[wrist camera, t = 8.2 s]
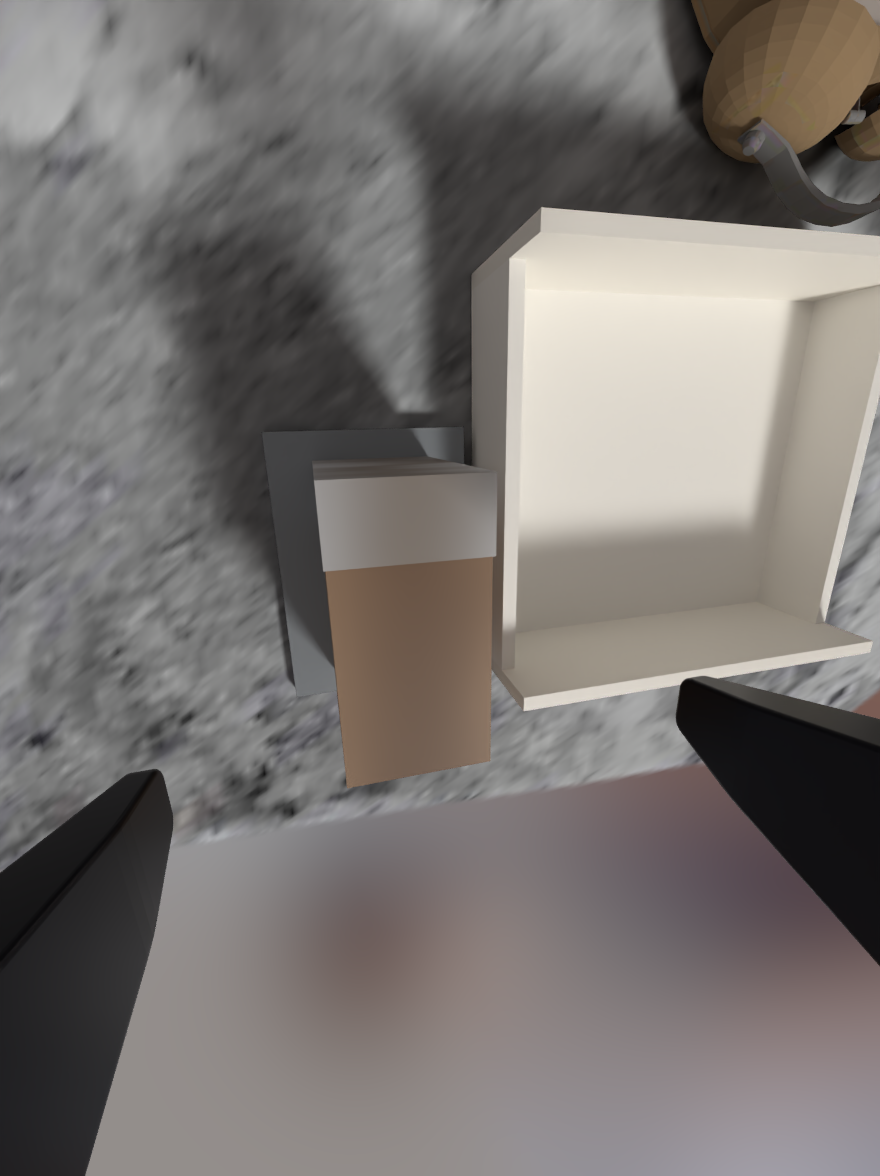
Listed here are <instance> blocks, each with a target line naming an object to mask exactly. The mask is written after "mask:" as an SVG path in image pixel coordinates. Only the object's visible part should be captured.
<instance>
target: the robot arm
mask: <svg viewBox="0 0 880 1176" xmlns="http://www.w3.org/2000/svg"><path fill="white" fill-rule="evenodd" d="M676 723H677V726H678V728H679V730H680V731H681V733H682V734H683V735H684V737H685V738H686V739H687V741H688V742H689V743H690V745H691V746H692V747H693V749H694V750H695V751H696V753H697V754H698V755H699V757H700V758H701V759H702V761H703V762H704V763H705V765H706V766H707V767H708V769H709V770H710V771H711V773H712V774H713V775H714V777H715V778H716V779H717V781H718V782H719V783H720V785H721V786H722V787H723V789H724V790H725V791H726V792H727V794H728V795H729V796H730V798H731V799H732V800H733V801H734V802H735V803H736V805H738V807H739V808H740V809H741V810H742V812H743V813H744V814H745V815H746V816H747V817H748V818H749V819H750V821H751V822H752V823H753V824H754V825H755V826H756V827H757V828H758V830H759V831H760V832H761V833H762V834H763V835H764V836H765V837H766V839H767V840H768V841H769V842H770V843H771V844H772V845H773V847H775V849H776V850H777V851H778V852H779V853H780V854H781V855H782V856H783V858H784V859H785V860H786V861H787V862H788V863H789V865H790V866H791V867H792V868H793V869H794V870H795V871H796V872H797V873H798V874H799V876H800V877H801V878H802V879H803V880H804V881H805V883H806V884H807V885H808V886H809V887H810V888H811V889H812V890H813V891H814V893H815V894H816V895H817V896H818V897H819V898H820V899H821V901H823V903H824V904H825V905H826V906H827V907H828V908H829V910H830V911H831V912H832V913H833V914H834V915H835V916H836V917H837V918H838V920H839V921H840V922H841V923H842V924H843V925H844V926H845V928H846V929H847V930H848V931H849V932H850V933H851V934H852V935H853V937H854V938H855V939H856V940H857V941H858V942H859V943H860V944H861V945H862V947H863V948H864V949H865V950H866V951H867V952H868V953H869V954H870V956H871V957H872V958H873V959H874V960H875V961H876V962H877V964H878V965H879V966H880V719H877V718H873V717H869V716H865V715H861V714H857V713H853V712H849V711H845V710H841V709H837V708H833V707H829V706H825V705H821V704H817V703H813V702H809V701H805V700H801V699H797V698H793V697H789V696H785V695H781V694H777V693H773V692H769V691H765V690H761V689H757V688H753V687H749V686H745V685H741V684H737V683H733V682H729V681H725V680H721V679H717V678H713V677H709V676H697V677H692V678H687V679H685V680H683V681H682V683H681V685H680V690H679V696H678V703H677V710H676ZM172 831H173V813H172V809H171V805H170V801H169V797H168V793H167V789H166V784H165V780H164V777H163V775H162V773H161V771H159V770H157V769H152V770H146V771H140V772H134V773H129V774H127V775H126V776H124V777H123V778H121V779H120V780H119V781H118V782H116V783H115V784H114V785H112V786H111V787H110V788H109V789H107V790H106V791H105V792H103V793H102V794H101V795H100V796H98V797H97V798H96V799H94V800H93V801H92V802H91V803H89V804H88V805H87V806H85V807H84V808H83V809H82V810H80V811H79V812H78V813H76V814H75V815H74V816H73V817H71V818H70V819H69V820H67V821H66V822H65V823H64V824H62V825H61V826H60V827H58V828H57V829H56V830H55V831H53V832H52V833H51V834H49V835H48V836H47V837H46V838H44V839H43V840H42V841H40V842H39V843H38V844H37V845H35V846H34V847H33V848H31V849H30V850H29V851H28V852H26V853H25V854H24V855H22V856H21V857H20V858H19V859H17V860H16V861H15V862H13V863H12V864H11V865H10V866H8V867H7V868H6V869H4V870H3V871H2V872H1V873H0V1176H85V1174H86V1171H87V1167H88V1164H89V1161H90V1157H91V1154H92V1150H93V1147H94V1143H95V1140H96V1136H97V1133H98V1129H99V1126H100V1122H101V1119H102V1116H103V1112H104V1109H105V1105H106V1101H107V1098H108V1095H109V1091H110V1088H111V1085H112V1081H113V1078H114V1074H115V1071H116V1067H117V1064H118V1060H119V1057H120V1053H121V1050H122V1046H123V1043H124V1039H125V1036H126V1033H127V1029H128V1026H129V1022H130V1019H131V1015H132V1012H133V1008H134V1004H135V1001H136V998H137V994H138V991H139V988H140V984H141V981H142V977H143V974H144V970H145V967H146V963H147V960H148V956H149V953H150V949H151V945H152V941H153V937H154V932H155V927H156V921H157V916H158V911H159V905H160V899H161V894H162V888H163V883H164V877H165V870H166V866H167V860H168V854H169V849H170V843H171V837H172Z"/></svg>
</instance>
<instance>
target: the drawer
mask: <svg viewBox="0 0 880 1176" xmlns="http://www.w3.org/2000/svg"><path fill="white" fill-rule="evenodd" d="M471 317H472V466H473V467H478V468H482V469H487V470H491V471H495V472H497V533H496V556H494V557H493V578H492V659H491V669H492V670H493V672H494V673H495V674H496V676H497V677H498V678H499V680H500V681H501V682H502V684H503V685H504V686H505V687H506V689H507V690H508V691H509V693H510V694H511V695H512V697H513V698H514V699H515V701H516V702H517V703H518V705H519V706H520V707H521V708H522V710H523V711H528V710H534V709H539V708H545V707H551V706H557V705H563V704H569V703H575V702H581V701H587V700H593V699H598V698H604V697H610V696H616V695H622V694H628V693H634V692H640V691H646V690H652V689H657V688H663V687H669V686H675V685H681V683H682V681H683V680H685V679H687V678H692V677H697V676H709V677H713V678H722V677H728V676H734V675H740V674H746V673H752V672H758V671H764V670H770V669H775V668H781V667H787V666H793V665H799V664H805V663H811V662H817V661H823V660H829V659H834V658H840V657H846V656H852V655H858V654H864V653H870V651H871V647H872V643H873V641H871V640H869V639H866V638H863V637H861V636H858V635H855V634H853V633H850V632H847V631H845V630H842V629H839V628H837V627H834V626H831V625H829V624H826V623H824V622H825V618H826V614H827V610H828V605H829V601H830V597H831V593H832V589H833V585H834V581H835V577H836V573H837V569H838V564H839V560H840V556H841V552H842V548H843V544H844V540H845V536H846V532H847V527H848V523H849V519H850V515H851V511H852V507H853V503H854V499H855V495H856V491H857V486H858V482H859V478H860V474H861V470H862V466H863V462H864V458H865V454H866V449H867V445H868V441H869V437H870V433H871V429H872V425H873V421H874V417H875V413H876V408H877V404H878V400H879V396H880V236H872V235H860V234H848V233H836V232H825V231H813V230H801V229H790V228H778V227H766V226H755V225H743V224H731V223H720V222H708V221H696V220H685V219H673V218H661V217H649V216H638V215H626V214H614V213H603V212H591V211H579V210H568V209H556V208H544V207H541V208H540V209H539V210H538V211H537V212H536V213H535V214H534V215H533V216H532V217H531V218H530V219H529V220H528V221H527V222H525V223H524V224H523V225H522V226H521V227H520V228H519V229H518V230H517V231H516V232H515V233H514V234H513V235H512V236H511V237H510V238H509V239H508V240H507V241H506V242H505V243H504V244H502V245H501V246H500V247H499V248H498V249H497V250H496V251H495V252H494V253H493V254H492V255H491V256H490V257H489V258H488V259H487V260H486V261H485V262H484V263H483V264H482V265H481V266H479V267H478V268H477V269H476V270H475V271H474V272H473V273H472V274H471Z"/></svg>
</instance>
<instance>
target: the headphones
mask: <svg viewBox="0 0 880 1176" xmlns="http://www.w3.org/2000/svg"><path fill="white" fill-rule="evenodd" d="M691 2H692V5H693V8H694V11H695V14H696V17H697V20H698V23H699V26H700V29H701V32H702V35H703V38H704V40H705V42H706V43H707V45H708V46H709V48H710V49H711V51H712V52H713V54H714V55H713V58H712V61H711V64H710V67H709V69H708V72H707V76H706V79H705V83H704V89H703V119H704V124H705V126H706V128H707V131H708V133H709V136H710V138H711V140H712V141H713V142H714V143H715V144H716V145H717V146H718V147H719V149H720V150H721V151H722V152H724V153H725V154H727V155H729V156H731V157H732V158H734V159H736V160H738V161H744V162H749V163H761V164H762V165H763V167H764V170H765V172H766V174H767V176H768V178H769V180H770V182H771V184H772V186H773V188H774V191H775V193H776V194H777V196H778V197H779V198H780V200H781V201H782V203H783V204H784V205H785V207H786V208H787V209H789V210H790V211H791V212H792V213H793V214H794V215H796V216H797V217H798V218H799V219H802V220H805V221H807V222H810V223H812V224H815V225H822V226H830V227H833V226H838V225H842V224H847V223H850V222H852V221H854V220H857V219H859V218H861V217H863V216H865V215H867V214H869V213H871V212H874V211H876V210H878V209H880V194H879V195H878V196H877V197H876V198H875V199H874V200H873V201H872V202H870V203H866V204H861V205H857V204H849V203H843V202H840V201H838V200H835V199H833V198H831V197H828V196H826V195H825V194H824V193H823V192H821V191H820V190H819V189H818V188H817V187H816V186H815V185H814V184H813V183H812V182H811V180H810V179H809V177H808V176H807V174H806V173H805V172H804V170H803V168H802V166H801V164H800V162H799V159H798V157H797V155H796V154H798V153H800V152H802V151H804V150H806V149H808V148H810V147H812V146H813V145H815V144H817V143H818V142H819V141H821V140H822V139H823V138H824V137H825V136H827V135H828V134H829V133H830V132H831V131H833V130H834V129H835V128H836V127H837V126H838V125H839V124H840V123H841V124H849V125H851V124H856V125H854V126H853V127H851V128H849V129H848V130H846V131H844V132H843V133H841V134H839V135H838V134H837V135H836V136H835V139H836V141H837V144H838V146H839V147H840V149H841V150H842V152H843V153H844V154H845V155H847V156H848V157H849V158H851V159H854V160H858V161H875V160H880V103H879V104H878V111H876V112H874V113H873V114H871V115H870V116H868V117H867V118H865V115H866V111H865V110H859V109H860V108H861V107H863V106H864V105H866V104H867V103H868V102H870V101H871V100H872V99H874V98H875V97H877V96H878V95H879V94H880V0H691ZM864 118H865V119H864Z"/></svg>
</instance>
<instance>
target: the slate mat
mask: <svg viewBox="0 0 880 1176" xmlns="http://www.w3.org/2000/svg"><path fill="white" fill-rule="evenodd" d="M262 439H263V447H264V454H265V462H266V469H267V477H268V484H269V492H270V500H271V507H272V515H273V522H274V530H275V537H276V545H277V552H278V560H279V567H280V575H281V583H282V590H283V598H284V605H285V613H286V620H287V628H288V635H289V643H290V651H291V658H292V666H293V673H294V681H295V688H296V696H297V697H300V696H307V695H314V694H321V693H327V692H334V691H337V687H336V678H335V668H334V658H333V648H332V638H331V628H330V619H329V609H328V599H327V589H326V579H325V572H323V564H322V554H321V545H320V535H319V525H318V515H317V505H316V495H315V486H314V476H313V465H312V461H316V460H343V459H369V458H396V457H423V456H429V457H433V458H438V459H442V460H447V461H451V462H455V463H460V464H464V427H439V428H399V429H359V430H320V431H280V432H262Z"/></svg>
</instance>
